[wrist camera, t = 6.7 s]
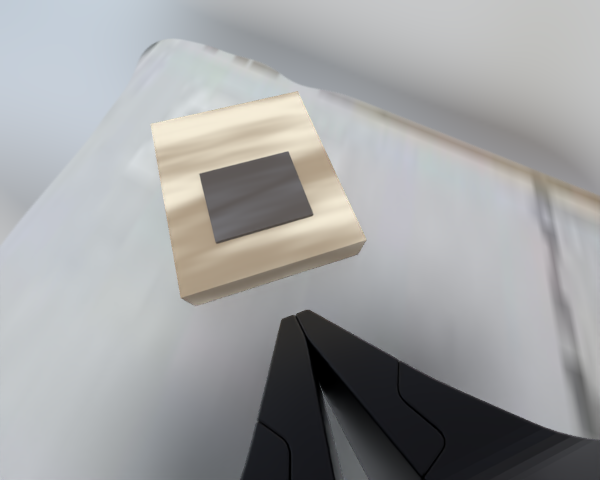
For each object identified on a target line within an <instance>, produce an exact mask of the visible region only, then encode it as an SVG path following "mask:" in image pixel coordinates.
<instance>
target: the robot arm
mask: <svg viewBox="0 0 600 480" xmlns="http://www.w3.org/2000/svg"><path fill="white" fill-rule="evenodd" d="M321 389H322V391H323V393H324V395H325V397H326V399H327V401H328V403H329V405H330V407H331V409H332V411H333V413H334V415H335V416H336V418H337V420H338V422H339V424H340V426H341V428H342V430H343V432H344V434H345V435H346V437H347V439H348V441H349V443H350V445H351V447H352V449H353V451H354V452H355V454H356V456H357V458H358V460H359V462H360V464H361V466H362V468H363V470H364V471H365V473H366V475H367V477H368V479H369V480H600V440H596V439H587V438H582V437H577V436H572V435H568V434H564V433H561V432H557V431H554V430H551V429H548V428H545V427H543V426H540V425H538V424H535V423H533V422H530V421H528V420H526V419H523V418H521V417H519V416H517V415H514V414H512V413H510V412H507V411H505V410H503V409H501V408H498V407H496V406H494V405H491V404H489V403H487V402H485V401H482V400H480V399H478V398H475V397H473V396H471V395H469V394H466V393H464V392H462V391H459V390H457V389H455V388H453V387H451V386H449V385H447V384H444V383H442V382H440V381H438V380H436V379H434V378H432V377H430V376H428V375H426V374H424V373H422V372H420V371H419V370H417V369H415V368H413V367H411V366H409V365H408V364H406V363H404V362H402V361H400V362H399V360H398V359H397V358H395V357H393V356H391V355H389V354H388V353H386V352H384V351H382V350H380V349H379V348H377V347H375V346H373V345H371V344H370V343H368V342H366V341H364V340H362V339H361V338H359V337H357V336H355V335H354V334H352V333H350V332H348V331H346V330H345V329H343V328H341V327H339V326H337V325H336V324H334V323H332V322H330V321H328V320H327V319H325V318H323V317H321V316H319V315H318V314H316V313H314V312H312V311H311V310H305V311H302V312H300V313H297V314H296V316H295V315H292V316H289V317H286V318H284V319H282V320H281V323H280V327H279V331H278V335H277V339H276V344H275V348H274V352H273V356H272V360H271V364H270V368H269V372H268V376H267V381H266V385H265V389H264V393H263V397H262V401H261V405H260V409H259V413H258V418H257V423H256V425H255V429H254V433H253V438H252V441H251V445H250V449H249V452H248V456H247V460H246V463H245V467H244V470H243V473H242V476H241V479H240V480H344V478H343V474H342V470H341V466H340V462H339V458H338V454H337V450H336V446H335V442H334V438H333V434H332V430H331V426H330V422H329V418H328V414H327V410H326V406H325V402H324V398H323V394H322V391H321Z"/></svg>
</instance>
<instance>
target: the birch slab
mask: <svg viewBox="0 0 600 480" xmlns="http://www.w3.org/2000/svg"><path fill="white" fill-rule="evenodd" d="M151 129H152V135H153V141H154V147H155V152H156V158H157V164H158V170H159V175H160V181H161V187H162V193H163V198H164V204H165V210H166V216H167V221H168V227H169V233H170V239H171V244H172V250H173V256H174V262H175V267H176V273H177V279H178V285H179V290H180V296H181V298H182V299H184V300H185V301H187V302H189V303H191V304H193V305H194V306H198V305H201V304H204V303H207V302H210V301H213V300H216V299H220V298H223V297H226V296H229V295H232V294H235V293H238V292H242V291H245V290H248V289H251V288H254V287H257V286H260V285H263V284H267V283H270V282H273V281H276V280H279V279H282V278H285V277H288V276H292V275H295V274H298V273H301V272H304V271H307V270H310V269H314V268H317V267H320V266H323V265H326V264H329V263H332V262H335V261H339V260H342V259H345V258H348V257H351V256H354V255H357V254H358V253H359V252H360V250H361V248H362V247H363V245H364V243H365V242H366V238H365V235H364V233H363V231H362V229H361V227H360V225H359V222H358V220H357V218H356V216H355V214H354V212H353V209H352V207H351V205H350V203H349V201H348V199H347V197H346V194H345V192H344V190H343V188H342V186H341V184H340V181H339V179H338V177H337V175H336V173H335V171H334V168H333V166H332V164H331V162H330V160H329V158H328V155H327V153H326V151H325V149H324V147H323V145H322V143H321V140H320V138H319V136H318V134H317V132H316V130H315V127H314V125H313V123H312V121H311V119H310V117H309V114H308V112H307V110H306V108H305V106H304V104H303V102H302V99H301V97H300V95H299V93H298V91H297V92H292V93H288V94H283V95H279V96H274V97H270V98H265V99H261V100H256V101H252V102H247V103H243V104H238V105H234V106H229V107H225V108H220V109H216V110H211V111H207V112H202V113H198V114H193V115H189V116H184V117H179V118H175V119H170V120H166V121H161V122H157V123H152V124H151Z"/></svg>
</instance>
